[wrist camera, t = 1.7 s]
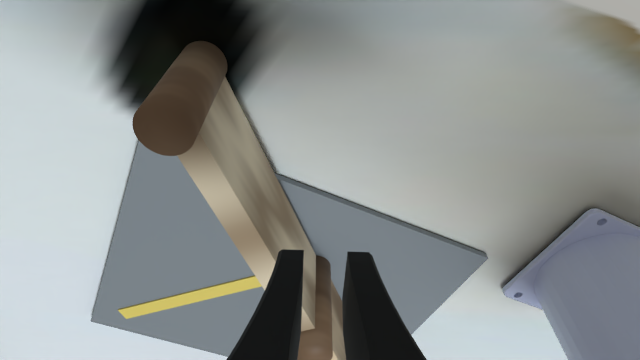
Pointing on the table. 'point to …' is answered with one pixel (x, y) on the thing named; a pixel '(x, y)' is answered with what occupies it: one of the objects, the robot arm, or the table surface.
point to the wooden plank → (225, 162)
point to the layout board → (233, 271)
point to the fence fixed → (324, 320)
